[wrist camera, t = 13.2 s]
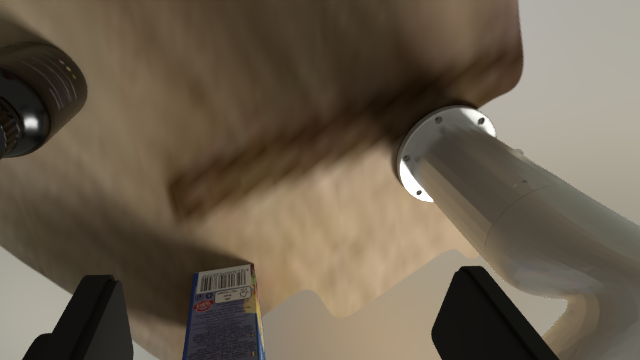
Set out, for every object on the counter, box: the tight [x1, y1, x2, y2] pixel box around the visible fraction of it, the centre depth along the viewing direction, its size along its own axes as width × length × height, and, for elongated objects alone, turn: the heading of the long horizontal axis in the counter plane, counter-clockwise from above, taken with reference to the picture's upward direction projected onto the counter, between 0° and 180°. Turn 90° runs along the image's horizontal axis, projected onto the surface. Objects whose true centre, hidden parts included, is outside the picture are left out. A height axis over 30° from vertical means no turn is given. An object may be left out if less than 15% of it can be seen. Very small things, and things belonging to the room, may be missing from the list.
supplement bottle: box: [0, 42, 87, 160], centre depth 26 cm, size 7×7×12 cm
